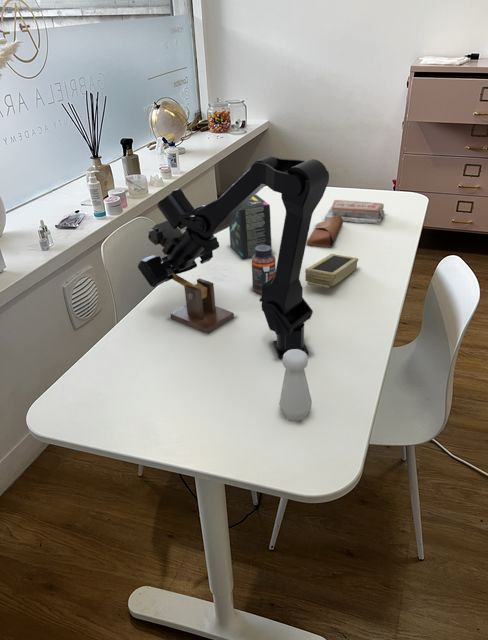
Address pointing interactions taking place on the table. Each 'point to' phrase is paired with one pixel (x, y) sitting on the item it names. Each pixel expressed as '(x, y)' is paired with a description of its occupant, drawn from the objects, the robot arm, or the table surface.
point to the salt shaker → (295, 386)
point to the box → (330, 270)
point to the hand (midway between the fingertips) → (162, 277)
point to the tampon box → (251, 227)
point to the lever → (185, 282)
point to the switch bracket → (201, 309)
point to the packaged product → (357, 211)
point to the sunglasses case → (326, 232)
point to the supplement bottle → (262, 267)
